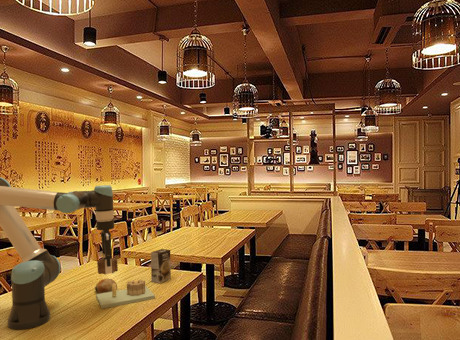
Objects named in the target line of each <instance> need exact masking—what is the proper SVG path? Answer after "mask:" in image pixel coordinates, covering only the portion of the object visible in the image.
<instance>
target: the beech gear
mask: <svg viewBox="0 0 460 340" xmlns="http://www.w3.org/2000/svg"><path fill="white" fill-rule="evenodd" d="M134 280H135V279H133V280H131V281H127V283H126V289H127V295H130V296H134V295H137V296H139V295H141V294H144V293H145V286H146V281H145V280H142V279H137V280H138V284H134Z"/></svg>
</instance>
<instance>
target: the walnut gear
mask: <svg viewBox="0 0 460 340" xmlns="http://www.w3.org/2000/svg"><path fill="white" fill-rule="evenodd" d="M111 259H112V273H111V274H114V273H115V272H118V271H119V268H118V265H119V264H118V259H117V257H114V258H113V257H112V258H111ZM96 264H97V273H98V275H101V274H102V275H107V274H106V272H105V259H103V258H101V259H100V260H99V259H98V260H97V261H96Z"/></svg>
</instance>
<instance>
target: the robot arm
mask: <svg viewBox="0 0 460 340" xmlns="http://www.w3.org/2000/svg"><path fill="white" fill-rule="evenodd" d="M16 207H19V208H27V209H28V208H29V209H31V208H32V209H39V210H40V209H41V210H48V211H58V212H61V213H63V214H71V213H74V212H76V211H78V210H81V209H87V208H88V209H89V208H95V221H96V222H95V223H96V230H97V231H101V232H100V237H101V252H102V259H105V272H106V274H105V275H108V274H113V273H112V259H111V258H113V255H112V253H113V252H112V239H111V237H112V233H111V232H110V230H113V229H114V228H115V220H114V218H115V217H114V216H115V213H116V211H114V194H113V187H112V186H111V185H95V186H94V189H93V190H74V191H68V192H60V191H51V190H44V189H43V190H42V189H31V188H24V187H23V188H22V187H15V186H14V187H13V186H11V184H10V182H9V181H8V180H7V179H5V178H3V177H2V176H1V177H0V228H1V229H2V231H3V232H4V234H5V235H6V237H7V239H8V240H9V242H10V243H11V245H12V246H13V247H14V248H13V249H14V250H15V252H17V254H18V255H19V257H20V259H21V262H20V263H18V264H16V265H15V266H13V268H12V270H11V275H10V278H11V299H12V300H11V301H12V304H11V305H12V306H11V309H10V311H9V315H8V318H7V327H8V328H9V329H12V330H27V329H31V328H32V329H33V328H37V327H39V326H41V325H44V324H46V323H47V322H48V321H50V319H51V311H50V309H49V307H48V305H47V302H46V298H45V297H46V296H45V295H46V294H45V293H46V291H45V290H46V289H45V287H47V286H48V285H50V284H51V283H52V282H54V281H55V280H56V279H57V278H58V276H59V275H60V273H61V270H62V265H61V262H60V260H59V258H57V257H56V256H55V255H52V254H50V253H49V251H48V249H46V248H42V247H41V245H40V244H39V242H38V241H37V240H36V238H35V237H34V235H33V234H32V232H31V230H30V228H29V227H28V225H27V224H26V222H25V221H24V220H23V217H22V216H21V215H20V213H19V211H18V210H17V208H16Z"/></svg>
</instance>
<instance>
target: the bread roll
mask: <svg viewBox="0 0 460 340" xmlns="http://www.w3.org/2000/svg"><path fill="white" fill-rule="evenodd" d="M114 283H116V290H118V285H117V282H116V280H114V279H112V278H104V279H100V280H99V281H98V282H97V283H96V284H95V286H94V290H95V292H96V294H101V293H106V292H112V284H114Z"/></svg>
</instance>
